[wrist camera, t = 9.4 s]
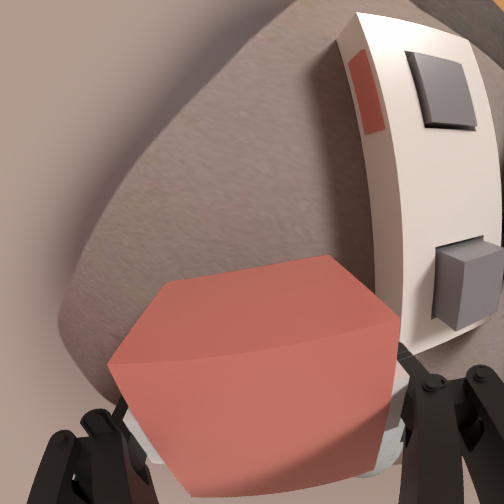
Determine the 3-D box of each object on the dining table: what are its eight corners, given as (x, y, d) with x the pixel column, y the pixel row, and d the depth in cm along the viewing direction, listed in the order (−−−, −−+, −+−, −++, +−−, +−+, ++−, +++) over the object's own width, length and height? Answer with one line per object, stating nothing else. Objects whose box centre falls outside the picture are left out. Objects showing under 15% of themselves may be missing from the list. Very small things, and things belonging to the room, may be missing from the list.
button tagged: (442, 131, 16) (477, 126, 12) (397, 130, 16) (432, 121, 12) (429, 77, 15) (461, 64, 11) (383, 71, 15) (413, 52, 11)
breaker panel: (463, 301, 20) (490, 319, 16) (372, 333, 20) (394, 361, 16) (440, 54, 14) (468, 40, 10) (333, 38, 14) (353, 12, 10)
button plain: (463, 291, 17) (497, 311, 13) (422, 305, 17) (455, 331, 13) (467, 235, 16) (505, 248, 12) (425, 245, 16) (464, 262, 12)
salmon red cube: (335, 381, 15) (373, 470, 8) (205, 402, 15) (191, 497, 8) (328, 254, 13) (400, 317, 6) (166, 282, 13) (106, 364, 7)
